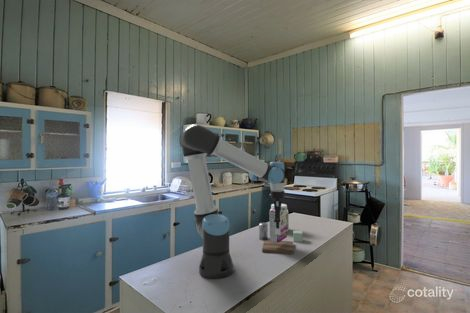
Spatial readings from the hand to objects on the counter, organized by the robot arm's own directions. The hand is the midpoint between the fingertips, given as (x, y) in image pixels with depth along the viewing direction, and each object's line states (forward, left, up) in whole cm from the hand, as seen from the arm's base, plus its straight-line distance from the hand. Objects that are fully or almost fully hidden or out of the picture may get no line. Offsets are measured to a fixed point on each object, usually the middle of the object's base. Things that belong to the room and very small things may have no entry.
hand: (278, 230), depth 137 cm
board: (0, 0, -9) cm, 9 cm away
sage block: (+14, -11, -9) cm, 20 cm away
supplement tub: (+32, 0, -10) cm, 33 cm away
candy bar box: (0, 0, -5) cm, 5 cm away
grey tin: (+14, +9, -9) cm, 19 cm away
